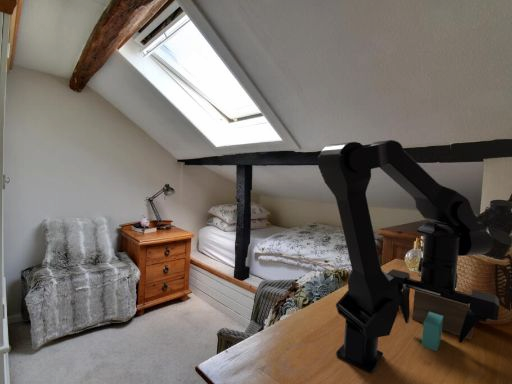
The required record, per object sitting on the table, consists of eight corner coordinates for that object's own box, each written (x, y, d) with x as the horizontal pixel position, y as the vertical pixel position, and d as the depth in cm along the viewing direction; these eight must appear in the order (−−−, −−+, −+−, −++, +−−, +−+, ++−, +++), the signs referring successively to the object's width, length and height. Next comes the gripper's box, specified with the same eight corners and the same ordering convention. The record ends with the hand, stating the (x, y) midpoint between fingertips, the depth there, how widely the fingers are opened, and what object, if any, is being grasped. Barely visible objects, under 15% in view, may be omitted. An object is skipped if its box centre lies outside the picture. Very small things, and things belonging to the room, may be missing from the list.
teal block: (436, 351, 53) (439, 326, 52) (421, 345, 54) (424, 321, 54) (440, 339, 57) (443, 316, 56) (427, 333, 58) (429, 311, 58)
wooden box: (471, 339, 57) (475, 307, 56) (412, 319, 64) (414, 290, 63) (474, 319, 65) (478, 291, 64) (421, 303, 72) (424, 277, 72)
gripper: (502, 259, 54) (493, 334, 55) (399, 240, 66) (394, 302, 67) (503, 274, 45) (492, 362, 47) (385, 249, 58) (379, 319, 59)
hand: (432, 331), depth 55 cm, fingers open, 9 cm apart
